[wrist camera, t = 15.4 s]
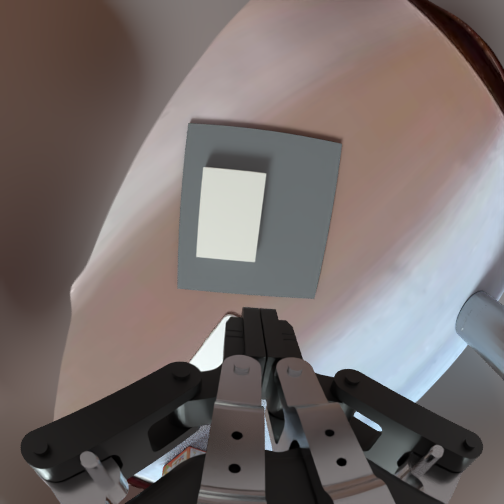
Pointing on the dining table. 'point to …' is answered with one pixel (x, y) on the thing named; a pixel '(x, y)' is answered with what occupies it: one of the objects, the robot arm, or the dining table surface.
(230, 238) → the card box
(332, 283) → the dining table surface
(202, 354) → the smartphone
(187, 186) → the mat
